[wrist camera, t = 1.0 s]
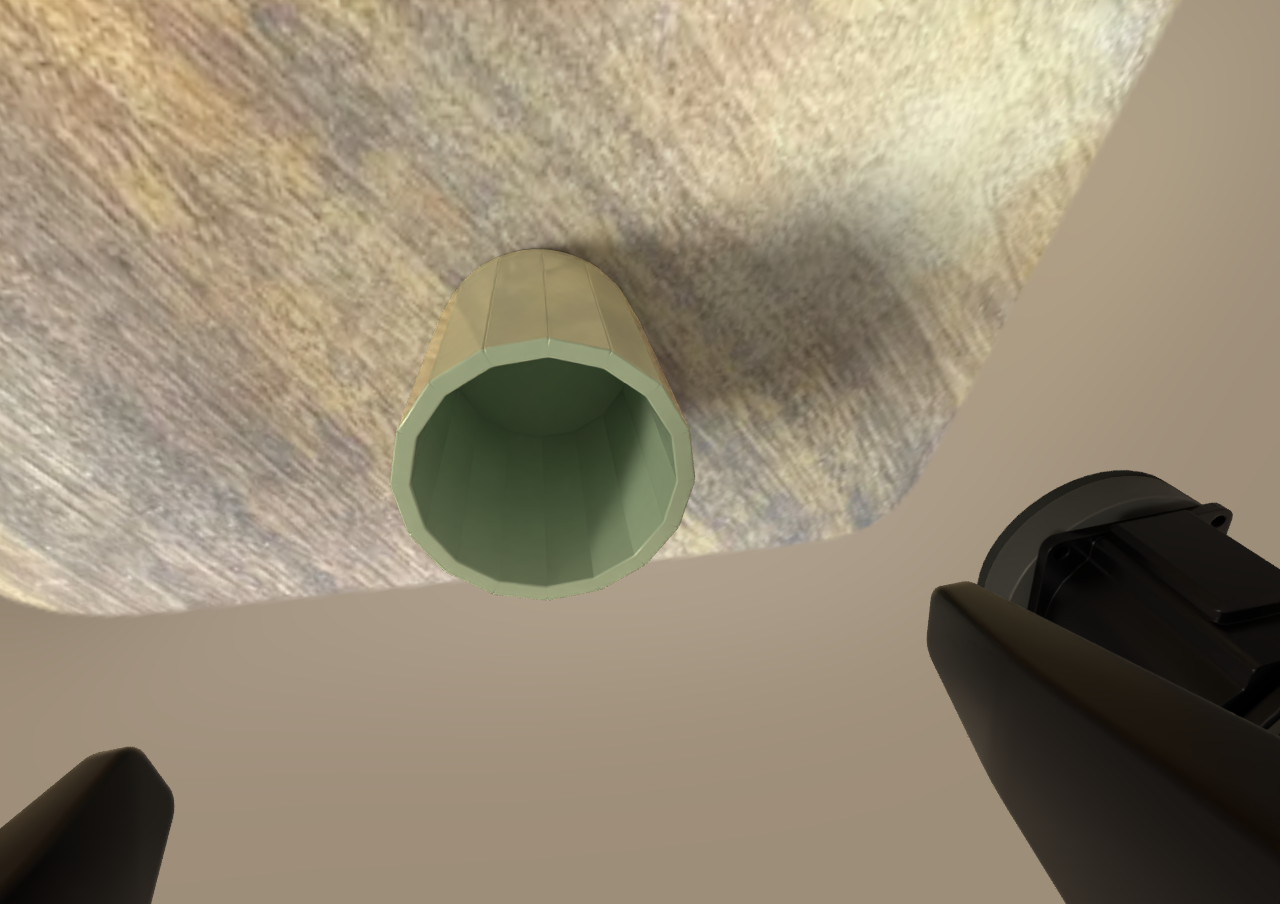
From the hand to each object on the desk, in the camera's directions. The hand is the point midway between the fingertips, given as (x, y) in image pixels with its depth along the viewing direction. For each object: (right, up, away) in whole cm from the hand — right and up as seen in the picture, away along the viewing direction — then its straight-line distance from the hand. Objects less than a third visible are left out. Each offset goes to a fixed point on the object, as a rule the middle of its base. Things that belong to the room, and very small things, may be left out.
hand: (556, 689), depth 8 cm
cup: (-2, +5, +10) cm, 12 cm away
